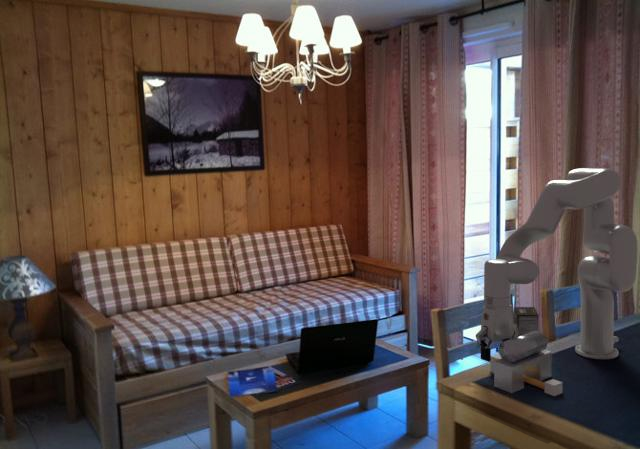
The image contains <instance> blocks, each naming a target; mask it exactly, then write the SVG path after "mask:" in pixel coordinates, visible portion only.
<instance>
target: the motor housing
mask: <svg viewBox="0 0 640 449" xmlns="http://www.w3.org/2000/svg"><path fill="white" fill-rule="evenodd" d="M547 347H548V340H547V337H546V335H544V334H543V333H542V331H539V330H538V331H533V332H530V333H527V334H524V335H521V336H518V337H515V338H514V337H513V339H510V340H507V341H504V342H502V341H501V342H500V343H499V346H498V353H499V354H500V356H501V359H499V360H496V361H494V373H493V377H494V378H493V379H494V380H493V382H494V384H493V386H494V387H495V388H497V389H500V390H503V391H505V392H507V393H510V394H513V393H516V392H518V391H520V390H523V389H525V382H524V375H526V376H528V377H531V378H534V379H536V380H539V381H541V382H543V381H544V380H546V379H549V378H551V377H552V351H551V350H550V351H549V350H547Z"/></svg>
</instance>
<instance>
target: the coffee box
mask: <svg viewBox="0 0 640 449" xmlns="http://www.w3.org/2000/svg"><path fill="white" fill-rule="evenodd" d="M513 317H514V324H516V325H517V328H516V331H515V335H514V337H513V338H515V337H518V336H521V335H524V334H527V333H530V332H533V331H539V313H538V311H537V309H536V307H535V306H514V307H513Z"/></svg>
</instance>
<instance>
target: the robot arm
mask: <svg viewBox="0 0 640 449" xmlns="http://www.w3.org/2000/svg"><path fill="white" fill-rule="evenodd" d="M621 186H622V179H621V176H620V174H619V173H618V172H617V171H616V170H615V169H611V168H605V167H604V168H598V167H597V168H595V167H580V168H575V169H572V170H570V171H569V172H568V173H567V175H566V178H565V179H554V180H550V181H548V182H547V183H546V184H545V185H544V186H543V189H542V190H541V192H540V194H539V195H538V199H537V200H536V201H535V204H534V206H533V208H532V211H531V212H530V214H529V216H528V217H527V220H526V222H525V223H524V224H522V225H521V226H520V227H518V228H517V229H516V230H515V231H514V232H513V233H511V234H509V235H510V236H508V237H507V238H506V239H505V241H504V243H503V244H502V245H501V247H500V249H499V252H498V254H497V256H496V258H495V259H494V258H493V259H492V258H491V259H488V260H486V261H485V263H484V266H483V267H484V268H483V272H484V273H483V277H484V278H483V307H482V313H481V320H480V321H481V322H480V330H479V331H478V332H477V333H476V334H475V339H476V342H477V344H478V346H479V347H480V359H481V360H483V361H485V362H489V361H490V360H491V356H492V354H491V352H492V350H491V348H490V347H491V344H492V343H497V342H500V341H501V343H502V342H504V341H507V340H510V339H513V338H514V335H515V331H516V328H517V325H516V324H514V309H513V306H512V304H511V294H512V293H511V292H512V291H511V290H512V289H511V288H512V287H511V286H512V285H530V284H532V283H534V282H535V281H536V280H538V278H539V276H540V268H539V266H538V264H537V263H536V262H535V261H533V260H531V259H528V258H525V257H521V255H522V254H523V253H524V251H525V250H527V249H528V248H529V247H530V246H532V244H534V243H538V242H539V241H541V240H545V239H547V238H549V237H551V236H553V235H554V234H555V232H556V230H557V228H558V226H559V224H560V222H561V220H562V218H563V216H564V214H565V212H566V211H567V210H576V211H577V210H582V209H583V245H584V247H585V248H587V250H588V251H590V252H591V251H592V252H595V253H599V254H604V255H608V256H609V257H606V256H601V255H588V256H585V257H583V258H582V259H581V260H580V262H579V263H578V266H577V271H576V272H577V277H578V283H579V287H580V288H579V290H580V335H579V336H580V343H579V344H577V345H576V346H575V347H574V351H575V353H576V354H578V355H580V356H582V357H584V358H587V359H588V358H589V359H594V360H612V359H615V358H618V356H619V350H618V349H617V348H616V347H614V344H615V343H617V342H619V340H620V339H619V336H616V335H614V325H615V324H614V320H615V319H614V318H615V317H614V312H615V311H614V310H615V302H614V301H615V299H614V294H613V292H616V293H626V292H628V291H630V290H631V289H632V288H633V286H634V285H635V283H636V279H637V268H638V238H637V235H636V233H635V231H634V230H633V229H632V228H631V227H629V226H627V225H625V224H616V223H615V206H614V202H613V199H612V197H613V196H614V195H616V194H617V193H618V191H619V190H620V189H621ZM486 341H487V342H486Z"/></svg>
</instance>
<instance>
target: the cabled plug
mask: <svg viewBox="0 0 640 449" xmlns="http://www.w3.org/2000/svg"><path fill="white" fill-rule="evenodd" d="M499 359H501V356H500V354H499V352H498V353H495V354H493V355H492V354H491V360H490V361H489V364H490V365H489V366H490V369H489V370H490V372H491V373H492V374H494V361H496V360H499ZM524 383H526V384H529V385H532V386H534V387H537V388H539V389H542V390H544V393H545V394H547V395H550V396H553V397H556V396H559V395H561V394H563V381H559V380H557V379H554V378H552V379H549V380H547V381H539V380H536V379H534V378H531V377H528V376H526V375H524Z"/></svg>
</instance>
